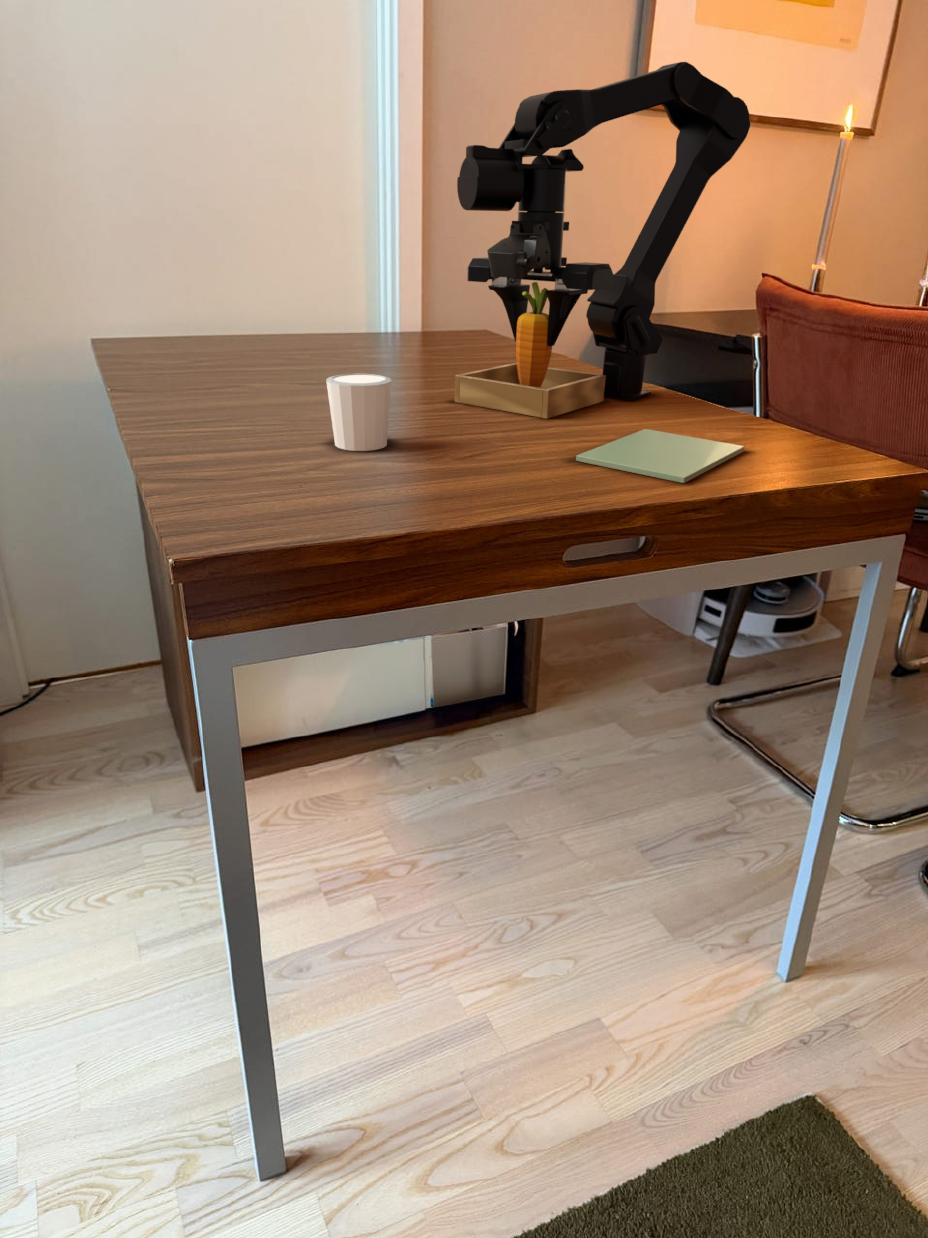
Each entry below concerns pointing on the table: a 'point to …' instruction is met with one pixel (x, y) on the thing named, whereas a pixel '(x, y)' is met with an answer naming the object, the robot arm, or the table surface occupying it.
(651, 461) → the board
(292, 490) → the table surface
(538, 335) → the carrot
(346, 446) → the white cup
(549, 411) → the wooden tray
